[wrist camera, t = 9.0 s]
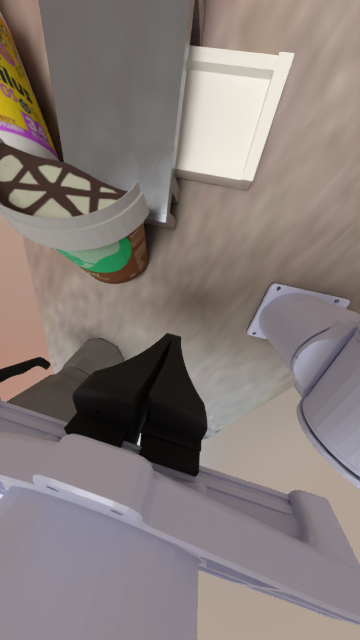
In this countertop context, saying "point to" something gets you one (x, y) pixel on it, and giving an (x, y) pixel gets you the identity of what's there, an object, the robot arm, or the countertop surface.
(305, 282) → the countertop surface
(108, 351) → the coffeepot
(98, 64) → the shelf
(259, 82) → the tray
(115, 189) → the food container
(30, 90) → the supplement bottle
